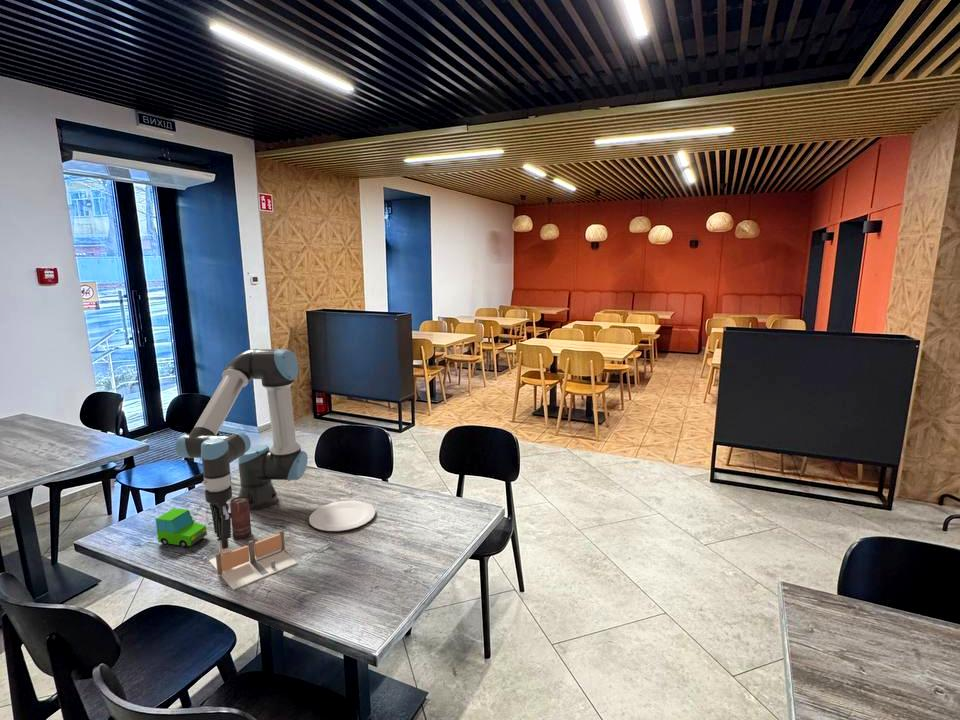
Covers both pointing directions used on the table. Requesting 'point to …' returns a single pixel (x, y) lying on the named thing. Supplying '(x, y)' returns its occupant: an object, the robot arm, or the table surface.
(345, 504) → the plate
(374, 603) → the table surface
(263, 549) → the fixed panel
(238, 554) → the panel
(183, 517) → the toy car
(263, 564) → the card
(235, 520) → the can
